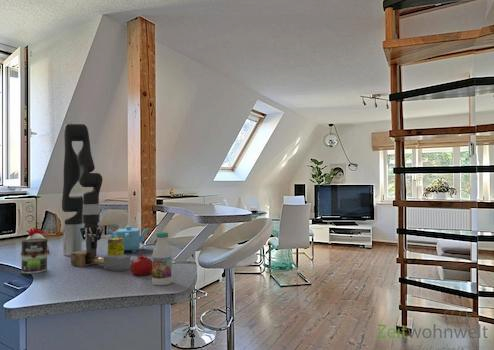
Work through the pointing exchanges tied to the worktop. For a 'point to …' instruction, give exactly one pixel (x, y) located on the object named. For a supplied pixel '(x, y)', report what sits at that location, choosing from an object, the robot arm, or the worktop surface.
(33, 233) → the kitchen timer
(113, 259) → the sleeve
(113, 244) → the supplement box
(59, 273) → the worktop surface
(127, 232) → the teakettle
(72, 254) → the socket block
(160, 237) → the milk bottle
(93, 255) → the rod
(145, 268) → the pomegranate
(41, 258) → the coffee can
